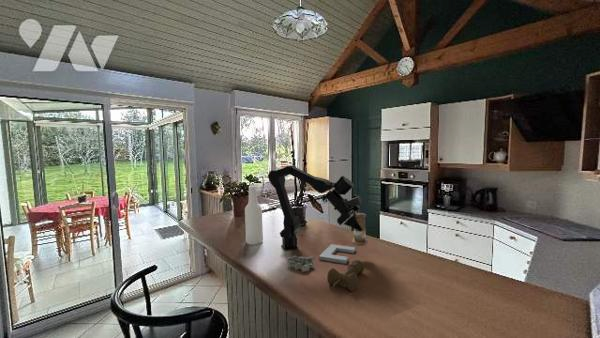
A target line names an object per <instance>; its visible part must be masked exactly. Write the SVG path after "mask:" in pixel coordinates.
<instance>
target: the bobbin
mask: <svg viewBox="0 0 600 338" xmlns="http://www.w3.org/2000/svg"><path fill="white" fill-rule="evenodd" d="M354 214H355V220H356V221H357V222H358V224H359V225H360V226H361V228H362V230H361V231H359V230H357V229H355V228H353V239H352V242H351V243H352V244H353V245H354V246H358V247H362V246H363V247H364V246H367V245H368V239H366V238H367V237H366V236H367V235H366V216H367V214H366V213H362V212H359V213H354ZM354 214H353V215H354Z"/></svg>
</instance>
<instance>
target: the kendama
mask: <svg viewBox="0 0 600 338" xmlns="http://www.w3.org/2000/svg"><path fill="white" fill-rule="evenodd" d="M364 271H365V265H364V263H363V262H362V261H361V260H358V259H355V260H352V262H351V264H348V266H347V270H346V272H345V273H341V272H340V271H338V270H337V269H336V268H334V267H333V268H330V269H329V271H328V273H327V279H326V280H327V283H328V284H329V285H332V287H336V286H337V285H339V284H340V285H344V286H345V287H346V288H347V289H348V290H349V291H350V292H354V291H355V290H356V288H357V286H358V279H359V278H358V275H359V274H362V273H363V272H364Z"/></svg>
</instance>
